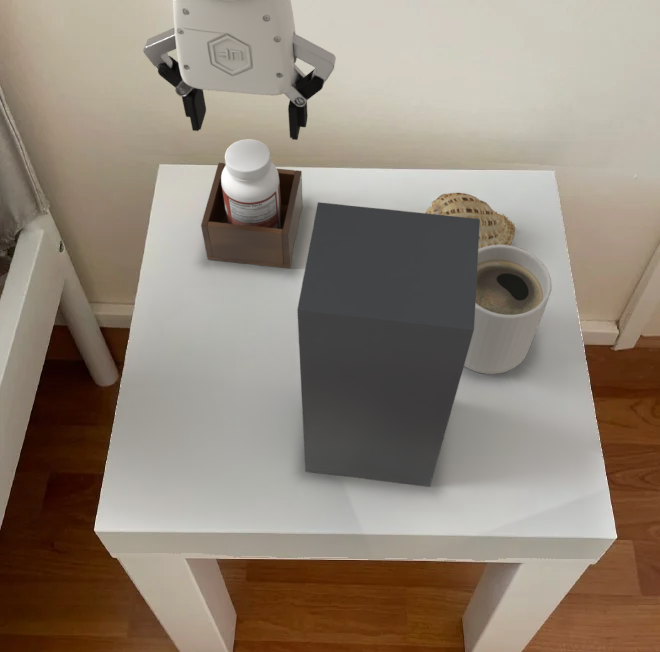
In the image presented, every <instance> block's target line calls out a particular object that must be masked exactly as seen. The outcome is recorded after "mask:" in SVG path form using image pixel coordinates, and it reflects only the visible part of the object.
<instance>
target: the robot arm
mask: <svg viewBox="0 0 660 652" xmlns="http://www.w3.org/2000/svg"><path fill="white" fill-rule="evenodd" d="M172 14H173V15H172V16H173V28H170V29H168V30H166V31H164V32H161V33H159V34H156V35H154V36H152V37H150V38H148V39H146V42H145V44H144V47H143V53H144V55H145V56H146V57H147V59H148V60H149V61H150V63H151V64H152V65H153V67H155V68H156V69H157V73H158V75H159V76H160V77H161V78H163V80H165V81H166V82H167V83H169V84H170V85H171V86H173V88H175V93H176V95H177V96H179V97H181V100H182V105H183V109H184V114H185V117H186V118H189V119H190V120H189V121H190V124H191V129H192V131H195V132H199V131H201V130H202V127H203V124H204V123H203V122H204V120H205V116H206V114H207V105H206V100H205V94H204V90H205V91H211V92H214V91H215V92H225V93H236V94H247V95H248V94H249V95H258V96H281V95H285V96H286V97H287V99H288V100H289V102H288V107H287V112H288V129H289V138H290V139H291V140H294V141H295V140H296V141H298V139H299V134H300V131H301V128H307V124H308V100H309V99H311V98H313V96H315V95H316V94H318V93H319V92H320V91H321V90H322V89H323V87H324V85H325V83H326V82H327V80H328V79H329V78H330V76H331V74H332V72H334V69H335V66H336V65H335V64H336V60H337V57H336V55H335V54H334V53H332V52H330V51H328V50H326V49H324V48H323V47H321V46H319V45H317V44H315V43H313V42H311V41H309V40H307V39H305V38H304V37H302V36H300V35H298V34H297V33H296V26H295V18H294V10H293V5H292V0H172ZM174 50H176V57H177V60H176V59H175V58H174V57H172V56H171V55H169V53H170V52H172V51H174ZM297 59H298V60H301V61H302V62H304V63H305V64H308V65H310V66H312V67H313V68H314V69H312V70H311V71H310V72H309V73H307V74H305V73H304V72H303V71H302V70H301V69H300V68H299V67H298V65H296V62H297Z"/></svg>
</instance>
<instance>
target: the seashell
mask: <svg viewBox="0 0 660 652" xmlns="http://www.w3.org/2000/svg"><path fill="white" fill-rule="evenodd" d="M424 213H427V214H437V215H446V216H456V217H466V218H475V219H480V227H479V246H478V249H480V248H483V247H486V246H490V245H510V246H512V243H513V240H514V238H515V235H516V225H515V223H513V221H512V220H510V219H509V217H508V216H507V217H506V215H504V214H503V213H502V214H500V213H498V212H497V211H495V210H493V208H492V206H490V204H488V203H487V202H486V201H484V200H481V199H479V198H477V197H476V196H474V195H472V194H469V193H466V192H465V193H464V192H448V193H447V192H446V193H443V194H440V195H439V196H437V198H435V200H433V201H431V206H429V207H428V208H427V209H426V211H425V212H424Z"/></svg>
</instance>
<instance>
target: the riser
mask: <svg viewBox="0 0 660 652" xmlns="http://www.w3.org/2000/svg"><path fill="white" fill-rule="evenodd" d="M479 227H480V219H475V218H466V217H456V216H446V215H437V214H427V213H425V212H416V211H406V210H398V209H397V210H396V209H387V208H377V207H370V206H369V207H368V206H357V205H348V204H340V203H339V204H338V203H337V204H336V203H329V202H320V201H319V202H317V204H316V210H315V213H314V221H313V226H312V231H311V236H310V242H309V246H308V250H307V251H308V252H307V257H306V262H305V267H304V273H303V279H302V284H301V289H300V293H299V294H300V295H299V300H298V305H297V310H296V311H297V331H298V333H297V334H298V351H299V371H300V372H299V373H300V389H301V411H302V430H303V431H302V434H303V451H304V452H303V453H304V472H307V473H314V474H323V475H331V476H339V477H346V478H347V477H348V478H355V479H356V478H357V479H362V480H371V481H379V482H386V483H387V482H388V483H395V484H405V485H410V486H411V485H412V486H420V487H426V488H427V487H428V488H431V486H432V482H433V477H434V474H435V471H436V468H437V464H438V461H439V456H440V453H441V449H442V446H443V442H444V439H445V435H446V431H447V429H448V425H449V421H450V418H451V414H452V411H453V406H454V403H455V399H456V396H457V392H458V388H459V384H460V381H461V377H462V374H463V370H464V368H465V366H464V364H465V360H466V357H467V353H468V349H469V346H470V342H471V339H472V335H473V332H474V321H475V302H476V283H477V264H478V246H479Z"/></svg>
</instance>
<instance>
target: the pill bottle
mask: <svg viewBox="0 0 660 652" xmlns="http://www.w3.org/2000/svg"><path fill="white" fill-rule="evenodd" d="M224 163H225V164H226V166H225V167H224V169H223V171H222V175H221V184H222V191H223V197H224V203H225V210H226V216H227V223H228V224H238V225H247V226H257V227H266V228H276V229H282V211H281V198H280V183H279V175H278V171H277V169H278V167H276V165H275V163H274V162H273V161H272V157H271V151H270V149H269V147H268V146H267V145H266V144H265V143H264V142H262V141H260V140H257V139H254V138H246V139H240V140H236V141H234V142H233V143H232V144H230V146H228V147H227V149H226V150H225V153H224Z"/></svg>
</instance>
